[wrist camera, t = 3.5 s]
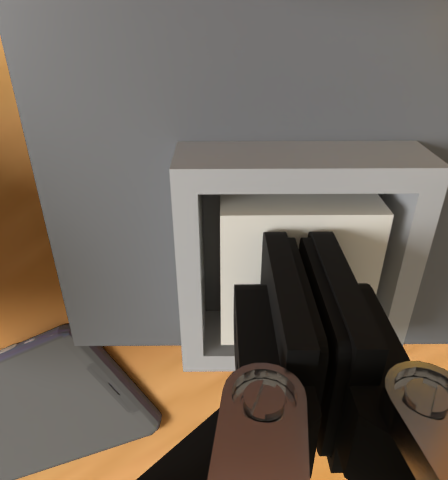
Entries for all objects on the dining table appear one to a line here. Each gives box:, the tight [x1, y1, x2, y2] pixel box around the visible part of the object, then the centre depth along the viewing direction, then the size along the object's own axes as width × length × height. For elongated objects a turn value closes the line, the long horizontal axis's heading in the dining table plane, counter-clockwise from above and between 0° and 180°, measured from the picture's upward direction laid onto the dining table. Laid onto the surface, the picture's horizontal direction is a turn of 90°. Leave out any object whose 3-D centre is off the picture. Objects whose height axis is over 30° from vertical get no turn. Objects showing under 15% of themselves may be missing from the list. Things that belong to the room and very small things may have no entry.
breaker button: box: [220, 194, 394, 345], centre depth 12 cm, size 4×4×2 cm
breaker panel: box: [0, 0, 448, 372], centre depth 10 cm, size 14×20×5 cm
